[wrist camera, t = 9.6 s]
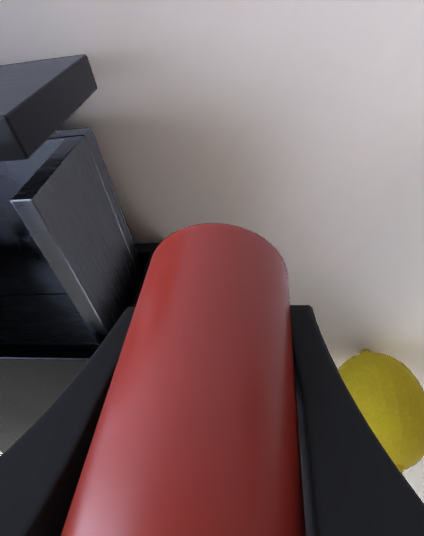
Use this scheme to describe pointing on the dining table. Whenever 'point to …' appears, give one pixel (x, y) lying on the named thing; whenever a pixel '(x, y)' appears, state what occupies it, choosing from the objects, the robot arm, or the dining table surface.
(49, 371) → the warmer
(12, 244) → the tray drawer
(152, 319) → the spice tin
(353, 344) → the dining table surface
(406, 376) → the lemon
